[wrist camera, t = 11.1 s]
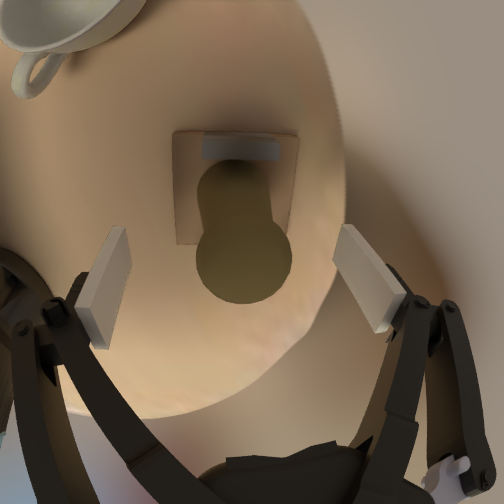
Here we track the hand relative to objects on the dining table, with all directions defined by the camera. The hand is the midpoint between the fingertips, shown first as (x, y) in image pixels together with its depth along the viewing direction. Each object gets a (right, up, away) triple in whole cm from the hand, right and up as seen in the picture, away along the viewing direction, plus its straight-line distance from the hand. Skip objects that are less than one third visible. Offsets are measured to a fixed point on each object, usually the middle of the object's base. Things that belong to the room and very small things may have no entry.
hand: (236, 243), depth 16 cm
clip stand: (-1, +5, +7) cm, 9 cm away
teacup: (-12, +19, -3) cm, 23 cm away
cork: (-1, +4, +7) cm, 8 cm away
